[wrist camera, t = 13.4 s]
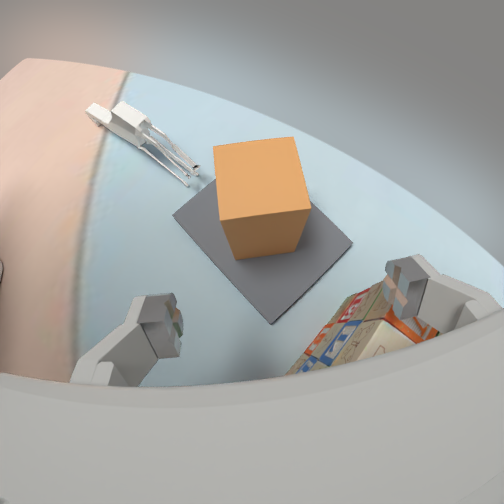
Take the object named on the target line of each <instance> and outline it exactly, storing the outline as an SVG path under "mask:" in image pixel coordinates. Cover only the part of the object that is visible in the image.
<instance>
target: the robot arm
mask: <svg viewBox="0 0 504 504" xmlns="http://www.w3.org/2000/svg"><path fill="white" fill-rule="evenodd" d="M2 268H3V267H2V262H1V260H0V280H1V275H2ZM385 271H386V273H387V276H386V277H385V278H384V279H383V286H382V287H383V294H384V297H385V299H386V300H387V302H388V303H390V304H392V305H393V309H392V310H393V311H394V313H395V314H396V316H397V317H398V319H399V320H403V319H407V318H411V317H415V316H417V317H418V318H420V319H421V320H423V321H424V322H426V323H427V324H429V325H430V326H432V327H433V328H435V329H436V330H438V331H439V332H441V333H442V335H440V336H437V337H434V338H432V339H429V340H426V341H423V342H420V343H417V344H414V345H411V346H408V347H405V348H401V349H398V350H395V351H391V352H388V353H384V354H381V355H377V356H374V357H370V358H366V359H362V360H358V361H354V362H350V363H346V364H342V365H337V366H333V367H328V368H323V369H318V370H313V371H308V372H303V373H297V374H291V375H285V376H279V377H272V378H265V379H258V380H250V381H241V382H232V383H221V384H209V385H193V386H169V387H137V386H138V385H139V384H140V383H141V381H142V380H143V379H144V377H145V376H146V375H147V374H148V372H149V371H150V370H151V369H152V367H153V366H154V365H155V363H156V362H157V361H158V359H161V358H173V357H180V350H181V341H180V339H179V338H180V337H181V336H182V335H183V319H182V315H181V312H180V310H178V309H177V308H176V303H177V301H176V298H175V296H174V294H173V293H164V294H153V295H143V296H136V297H134V298H133V301H132V303H131V306H130V308H129V311H128V313H127V316H126V318H125V321H124V324H123V325H119V326H118V327H117V328H115V329H114V330H113V331H112V332H111V333H109V334H108V335H107V336H106V337H105V338H103V339H102V340H101V341H100V342H99V343H97V344H96V345H95V346H94V347H93V348H92V349H90V350H89V351H88V352H87V353H86V354H85V355H83V356H82V357H81V358H80V359H79V360H78V361H77V364H76V366H75V369H74V371H73V374H72V376H71V379H70V382H69V383H66V382H58V381H50V380H43V379H36V378H30V377H24V376H19V375H14V374H9V373H0V504H504V308H502V307H501V306H500V305H499V304H498V303H497V302H496V300H495V299H494V298H493V297H492V296H491V295H490V294H489V293H487V292H485V291H483V290H480V289H478V288H476V287H473V286H471V285H468V284H466V283H464V282H461V281H459V280H456V279H454V278H451V277H449V276H446V275H444V274H443V275H440V274H439V273H438V272H437V270H436V269H435V268H434V267H433V266H432V265H431V264H430V263H429V262H428V261H427V260H426V259H425V258H424V257H423V256H422V255H419V254H418V255H413V256H409V257H406V258H401V259H395V260H390V261H387V263H386V267H385Z"/></svg>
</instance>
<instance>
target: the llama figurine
mask: <svg viewBox="0 0 504 504" xmlns="http://www.w3.org/2000/svg"><path fill="white" fill-rule="evenodd" d="M85 112H86V114H87V115H88V117H89V118H90V119H91V120H92V121H93V122H94V124H95V125H96V126H99V125H100V124H103V125H104V126H105V127H107V128H108V129H109V130H111V131H112V132H114V133H115V134H117V135H118V136H120V137H122V138H123V139H125V140H127V141H129V142H130V143H132V144H134V145H135V146H137V148H138V149H142V150H143V151H145V152H146V153H147V154H149V155H150V156H151V157H153V158H154V159H155V160H156V161H158V162H159V163H160V164H161V165H163V166H164V167H165V168H166V169H168V170H169V171H170V172H171V173H173V174H174V175H175V176H176V177H177V178H179V179H180V180H181V181H182V182H183V184H184V185H185V186H186V187H188V186H189V185H188V184H187V183H186V182H185V181H184V180H182V179H181V178H180V177H179V176H177V175H176V174H175V173H174V172H173V171H171V170H170V169H169V168H168V167H167V166H165V165H164V164H163V163H162V162H161V161H159V160H158V159H157V158H156V157H155V156H154V155H152V154H151V153H150V152H149V151H148V150H147V149H146V148H145V147H143V146H142V145H143V144H144V143H147V144H152V145H154V146H155V147H156V148H157V149H159V150H160V151H161V152H162V153H163V154H164V155H165V156H166V157H167V158H168V159H169V160H170V161H171V162H172V163H173V164H174V165H175V166H177V167H178V168H179V169H180V170H181V171H182V172H183V173H184V174H185V175H186V176H188V178H190V176H189V175H188V174H187V173H186V172H185V171H184V170H183V169H181V168H180V167H179V166H178V165H177V164H176V163H175V162H174V161H173V160H172V159H174V160H175V161H176V162H178V163H179V164H180V165H182V166H183V167H184V168H186V169H187V170H188V171H190V172H191V174H192V175H194V176H198V173H197V172H195V171H196V170H197V169H198V168H199V167H200V166H199V165H196V164H195V163H194V162H193V161H192V160H191V159H190V158H189V157H188V156H187V155H186V154H185V153H184V152H183V151H182V150H180V149H179V148H178V147H177V146H176V145H175V144H173V143H172V142H171V141H170V139H169V138H168V137H167V136H166V134H165V133H163V132H162V131H160V130H159V129H157V128H156V127H155V126H153V125H152V124H151V121H150V120H149V118H148V117H147V116H145V115H144V114H142V113H141V112H139V111H138V110H136V109H135V108H133V107H131V106H130V105H128V104H127V103H125V102H123V101H121V102H120V103H119V104H118V105H117V106H116V107H115V108H114V109H112V110H111V112H110V111H109V110H107V109H105V108H103V107H101V106H99V105H98V104H96V103H93V104H92V105H91V106H90V107H89V108H87V109H86V110H85ZM148 128H149V129H150V130H152V131H154V132H155V133H157V134H159V135H160V136H162V137H163V138H164V139H165V140H166V141H167V142H168V143H169V144H170V145H171V146H172V148H173V149H174V150H175V152H177V153H178V154H179V155H180V156H181V157H182V158H183V159H184V160H185V161H186V162H187V163H188V164H189V165H190V166H192V168H193V169H194V170H193V169H192V168H190V167H189V166H188V165H186V164H185V163H184V162H183V161H181V160H180V159H179V158H178V157H176V156H175V155H174V154H173V153H171V152H170V151H169V150H168V149H166V148H165V147H164V146H163V145H162V144H161V143H159V142H158V141H157V140H156V139H155V138H154V137H152V136H150V131H149V130H148ZM169 156H170V157H171V158H172V159H171V158H170V157H169Z"/></svg>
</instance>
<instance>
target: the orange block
mask: <svg viewBox="0 0 504 504" xmlns="http://www.w3.org/2000/svg"><path fill="white" fill-rule="evenodd" d="M213 152H214V164H215V175H216V186H217V197H218V207H219V217H220V222H221V225H222V227H223V230H224V233H225V235H226V238H227V240H228V243H229V246H230V248H231V251H232V253H233V256H234V258H235V260H240V259H247V258H254V257H261V256H269V255H276V254H283V253H290V252H294V251H295V249H296V246H297V244H298V241H299V239H300V236H301V234H302V231H303V229H304V226H305V224H306V221H307V219H308V216H309V213H310V211H311V204H310V200H309V196H308V191H307V187H306V183H305V179H304V175H303V171H302V167H301V163H300V159H299V156H298V152H297V148H296V144H295V141H294V137H284V138H274V139H264V140H256V141H247V142H240V143H233V144H226V145H219V146H213Z"/></svg>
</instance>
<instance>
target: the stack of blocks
mask: <svg viewBox="0 0 504 504" xmlns="http://www.w3.org/2000/svg"><path fill="white" fill-rule="evenodd" d="M382 286H383V281H381V282H379V283H377V284H375V285H372V286H371V288H368V289H366V290H364V291H362V292H360V293H355V294H353V295H351V296H349V297H347V298H346V299H345V301H344V302H343V304H342V305H341V306H340V308H339V309H338V310H337V312H336V313H335V315H334V316H333V317H332V319H331V320H330V321H329V322H328V324H327V325H325V326H324V328H323V329H322V330H321V332H320V333H319V334H318V335H317V337H316V338H315V339H314V341H313V342H312V343H311V344H310V346H309V347H308V348H307V349H306V351H305V352H304V353H303V354H302V355H301V357H300V358H299V359H298V360H297V361H296V362H295V364H294V365H293V366H292V367H291V369H290V370H289V371H288V372H287V373H286V374H285V375H291V374H297V373H303V372H308V371H313V370H318V369H323V368H328V367H333V366H337V365H342V364H346V363H350V362H354V361H358V360H362V359H366V358H370V357H374V356H377V355H381V354H384V353H388V352H391V351H395V350H398V349H401V348H405V347H408V346H411V345H414V344H417V343H420V342H423V341H426V340H429V339H432V338H434V337H437V336H440V335H442V333H441V332H439V331H438V330H436V329H435V328H433V327H432V326H430V325H429V324H427V323H426V322H424V321H423V320H421V319H420V318H418V317H417V316H415V317H411V318H407V319H403V320H399V319H398V317H397V316H396V314H395V313H394V311H393V310H392V309H393V305H392V304H390V303H388V302H387V300H386V299H385V297H384V294H383V287H382Z"/></svg>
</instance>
